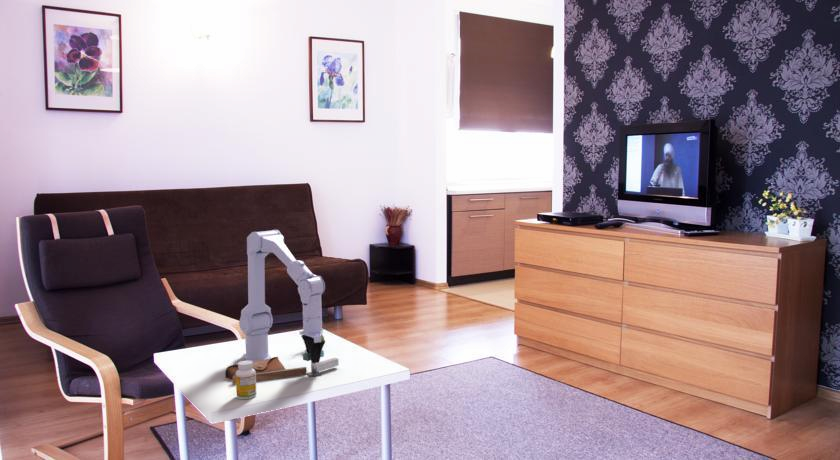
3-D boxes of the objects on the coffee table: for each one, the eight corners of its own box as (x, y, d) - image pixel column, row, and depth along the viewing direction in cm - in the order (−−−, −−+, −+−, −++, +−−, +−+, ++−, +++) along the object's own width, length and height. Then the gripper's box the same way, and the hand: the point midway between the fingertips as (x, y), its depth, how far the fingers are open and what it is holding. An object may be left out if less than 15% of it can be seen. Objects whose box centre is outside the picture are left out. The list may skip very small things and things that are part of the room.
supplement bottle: (238, 393, 189) (237, 360, 188) (257, 392, 190) (256, 359, 189) (235, 400, 184) (233, 365, 183) (254, 399, 184) (253, 365, 183)
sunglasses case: (236, 383, 197) (231, 362, 200) (228, 390, 202) (223, 369, 205) (290, 371, 209) (285, 351, 211) (282, 378, 214) (276, 358, 216)
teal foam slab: (334, 364, 213) (333, 345, 212) (338, 366, 212) (338, 346, 211) (303, 374, 204) (302, 354, 203) (308, 375, 202) (307, 355, 202)
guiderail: (232, 382, 198) (232, 376, 198) (305, 373, 207) (305, 366, 207) (233, 384, 197) (233, 377, 197) (306, 374, 206) (306, 367, 206)
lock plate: (306, 373, 206) (306, 372, 206) (318, 372, 208) (318, 371, 208) (309, 377, 203) (309, 376, 203) (321, 375, 204) (321, 374, 204)
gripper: (295, 312, 209) (296, 355, 210) (303, 322, 195) (305, 368, 197) (317, 310, 211) (318, 352, 213) (327, 320, 198) (328, 365, 199)
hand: (313, 359), depth 205 cm, fingers open, 5 cm apart
